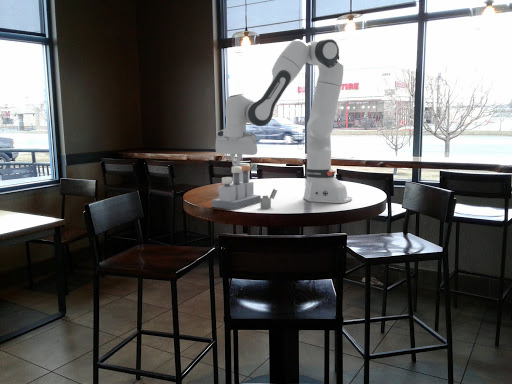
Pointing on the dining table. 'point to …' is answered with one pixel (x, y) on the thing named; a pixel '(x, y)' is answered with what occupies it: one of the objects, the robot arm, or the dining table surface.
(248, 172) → the skincare box
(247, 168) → the knob
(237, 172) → the knob mid
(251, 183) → the mount plate
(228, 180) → the knob
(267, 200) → the lighter
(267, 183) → the dining table surface
